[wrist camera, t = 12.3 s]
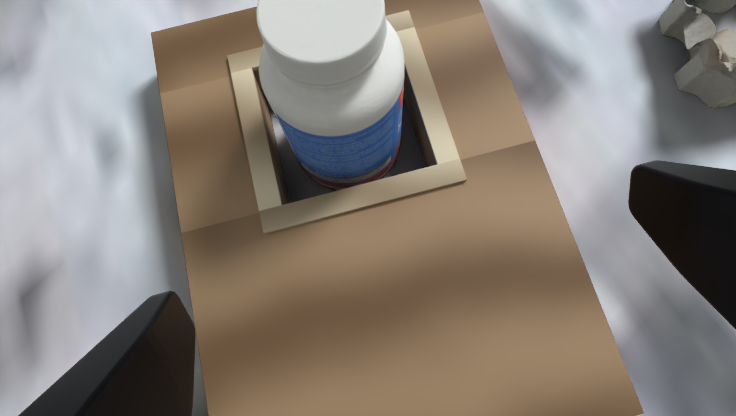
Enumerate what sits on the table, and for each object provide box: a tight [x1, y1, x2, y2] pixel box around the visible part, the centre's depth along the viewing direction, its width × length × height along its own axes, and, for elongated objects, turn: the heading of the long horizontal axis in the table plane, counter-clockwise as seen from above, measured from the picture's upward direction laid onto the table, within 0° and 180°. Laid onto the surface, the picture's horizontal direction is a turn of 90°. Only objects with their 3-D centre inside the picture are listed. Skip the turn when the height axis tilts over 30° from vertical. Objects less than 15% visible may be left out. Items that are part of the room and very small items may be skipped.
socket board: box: [151, 0, 644, 416], centre depth 21 cm, size 22×16×3 cm
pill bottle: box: [256, 0, 405, 190], centre depth 18 cm, size 6×5×10 cm
